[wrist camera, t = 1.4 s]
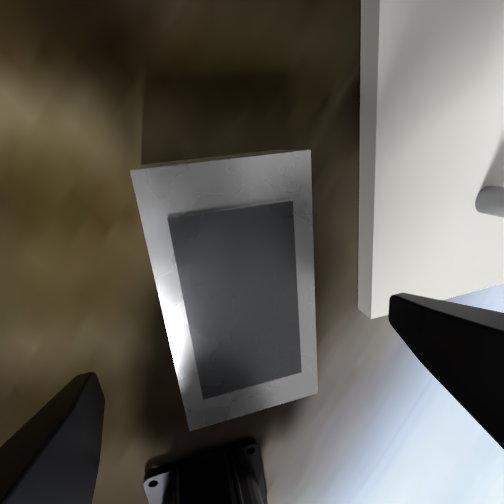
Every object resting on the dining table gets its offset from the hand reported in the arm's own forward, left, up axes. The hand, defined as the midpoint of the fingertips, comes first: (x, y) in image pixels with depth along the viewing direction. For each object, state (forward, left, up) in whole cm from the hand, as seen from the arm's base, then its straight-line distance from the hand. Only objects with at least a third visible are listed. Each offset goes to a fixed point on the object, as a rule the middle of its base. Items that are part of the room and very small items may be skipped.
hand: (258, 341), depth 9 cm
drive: (0, 0, -6) cm, 6 cm away
